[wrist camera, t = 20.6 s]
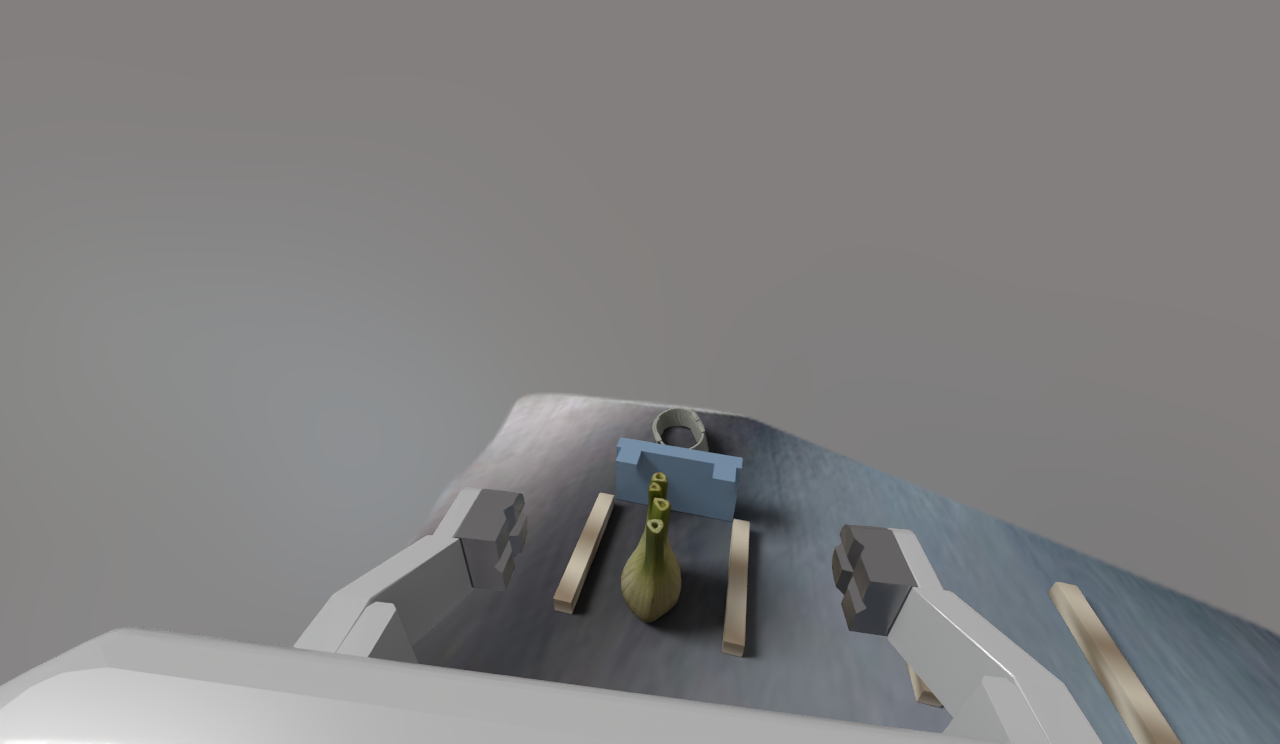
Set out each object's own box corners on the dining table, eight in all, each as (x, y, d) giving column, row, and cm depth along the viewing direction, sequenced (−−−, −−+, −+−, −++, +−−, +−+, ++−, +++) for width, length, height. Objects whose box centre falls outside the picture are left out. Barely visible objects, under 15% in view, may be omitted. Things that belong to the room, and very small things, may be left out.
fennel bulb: (657, 643, 35) (665, 536, 29) (605, 610, 37) (602, 504, 31) (691, 586, 39) (704, 482, 33) (643, 559, 41) (647, 457, 35)
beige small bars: (1174, 766, 29) (1189, 756, 28) (554, 610, 37) (553, 598, 36) (1067, 596, 39) (1076, 585, 38) (600, 503, 47) (599, 492, 46)
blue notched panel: (731, 537, 44) (740, 483, 40) (611, 513, 46) (610, 459, 42) (733, 510, 46) (742, 457, 43) (620, 489, 49) (620, 437, 45)
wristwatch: (716, 470, 52) (721, 435, 50) (664, 478, 51) (666, 443, 48) (690, 423, 60) (693, 391, 57) (643, 429, 58) (645, 397, 56)
